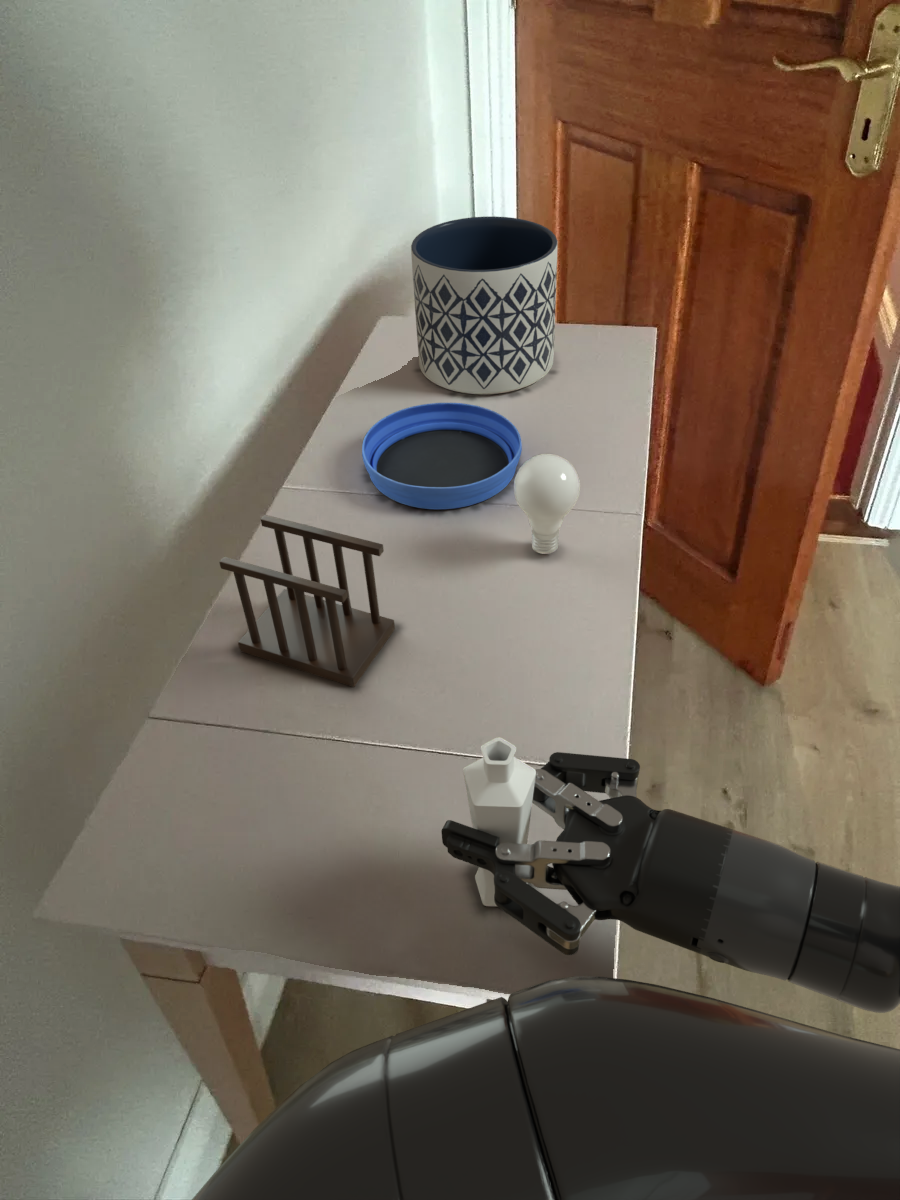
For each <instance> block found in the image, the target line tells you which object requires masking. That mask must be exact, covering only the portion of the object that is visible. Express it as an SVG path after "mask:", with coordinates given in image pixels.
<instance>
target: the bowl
mask: <svg viewBox="0 0 900 1200" xmlns="http://www.w3.org/2000/svg"><path fill="white" fill-rule="evenodd" d="M522 451H523V446H522V436H521V433H520V432H519V430H518V429H517V427H516V426H515V424H513V423H512V421H510V419H508V418H507V417H506V416H503V415H502V414H500V413H499V412H497V411H494V410H491V409H490V408H486V407H483V406H479V405H476V404H469V403H462V402H430V403H424V404H418V405H413V406H409V407H406V408H402V409H399V410H396V411H394V412H392V413H390V414H388V415H386V416H384V417H383V418H381V419H379V420H378V421H377V422H375V423H374V424H373V425H372V426H371V427H370V428H369V430H368V431H367V432H366V434H365V435H364V438H363V441H362V445H361V456H362V461H363V464H364V467H365V470H366V471H367V473H368V476H369V478H370V480H371V482H372V484H373V485H374V487H375V488H376V489H377V490H378V491H379V492H380V493H381V494H382V495H384V496H386V497H387V498H388V499H391V500H392V501H395V502H397V503H399V504H401V505H405V506H408V507H412V508H417V509H424V510H453V509H459V508H465V507H469V506H473V505H476V504H479V503H482V502H485V501H487V500H489V499H491V498H493V497H494V496H496V495H497V494H499V493H500V492H502V491H503V490H504V489H505V488H507V486H508V485H509V484H510V482H511V481H512V480H513V478H514V477H515V475H516V474H515V473H516V470H517V466H518V464H519V462H520V458H521V456H522Z"/></svg>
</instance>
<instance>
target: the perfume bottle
mask: <svg viewBox="0 0 900 1200" xmlns="http://www.w3.org/2000/svg"><path fill="white" fill-rule="evenodd" d="M516 751H517V746H515V744H513V743H511V742H509V741H508V740H506V739H504V738H502V737H499V736H498V737H495V738H493V739H491V740H489V741H487V742H485V743H483V744H482V745H481V746H480V752H481V755H482V757H481V758H479V759H478V760H475V761H474V762H471V763H470V764H468V765H466V766H464V768H463V769H462V774H463V779H464V784H465V786H464V787H465V790H466V791H465V792H466V797H467V803H468V808H469V814H470V820H471V825H472V828H474V829H477V830H480V831H483V832H486V833H488V834H491V835H494V836H497V837H500V844H501V843H516V844H528V839H529V831H530V823H531V817H532V815H531V814H532V807H533V803H532V800H533V792H534V784H535V776H536V769H535V768H534V767H532V766H530V765H529V764H527V763H525V762H524V761H522V760H521V759H519V758H518V757H515V754H516ZM474 880H475V883H476V887H477V891H478V893H479V895H480V900H481V904H482V905H483V906H486V907H498V906H497V905H496V904H495V901H494V894H495V886H494V875H493V873H492V872H490V871H489V870H486V869H483V868H481V867H478V868H477V870H476V873H475V875H474ZM527 884H529V883H527Z"/></svg>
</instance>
